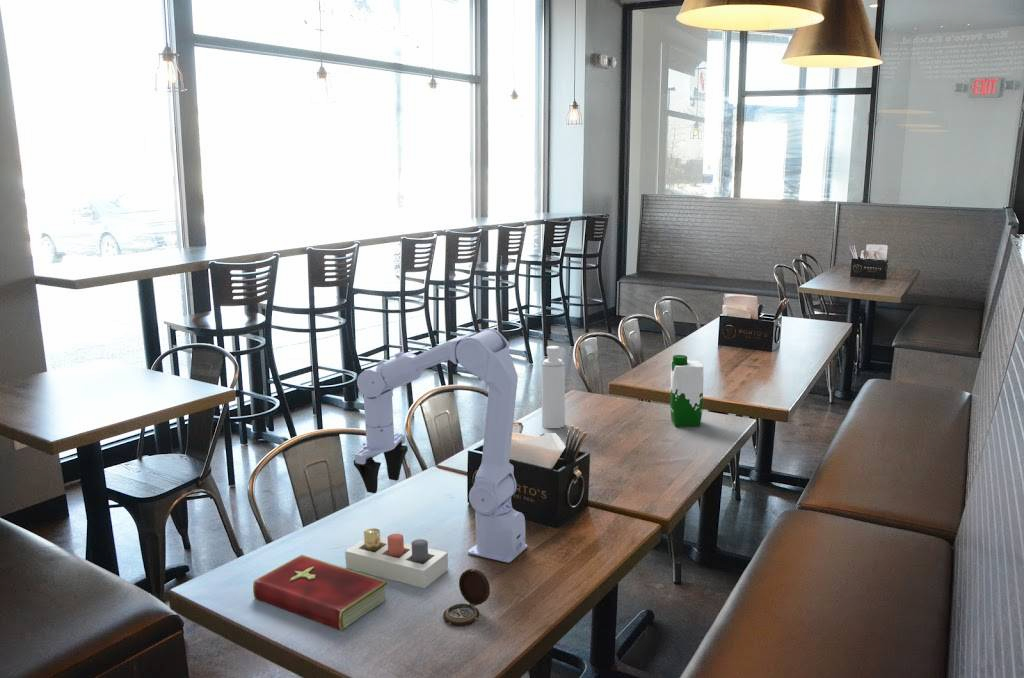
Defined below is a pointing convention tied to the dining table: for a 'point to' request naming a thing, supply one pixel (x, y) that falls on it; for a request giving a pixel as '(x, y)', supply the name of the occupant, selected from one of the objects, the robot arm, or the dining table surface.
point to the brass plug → (372, 539)
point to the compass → (468, 599)
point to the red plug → (395, 545)
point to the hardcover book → (320, 591)
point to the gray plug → (420, 551)
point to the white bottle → (553, 389)
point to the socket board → (397, 564)
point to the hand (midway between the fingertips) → (383, 485)
